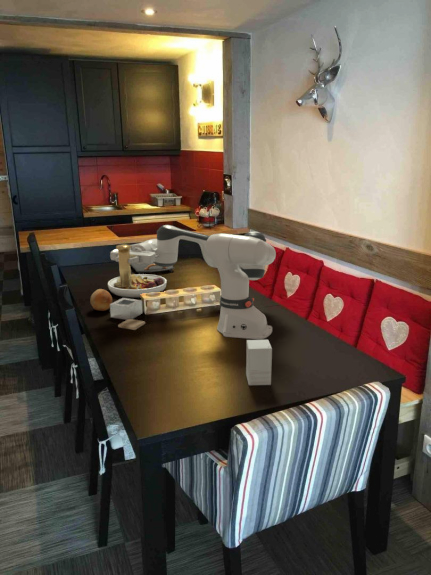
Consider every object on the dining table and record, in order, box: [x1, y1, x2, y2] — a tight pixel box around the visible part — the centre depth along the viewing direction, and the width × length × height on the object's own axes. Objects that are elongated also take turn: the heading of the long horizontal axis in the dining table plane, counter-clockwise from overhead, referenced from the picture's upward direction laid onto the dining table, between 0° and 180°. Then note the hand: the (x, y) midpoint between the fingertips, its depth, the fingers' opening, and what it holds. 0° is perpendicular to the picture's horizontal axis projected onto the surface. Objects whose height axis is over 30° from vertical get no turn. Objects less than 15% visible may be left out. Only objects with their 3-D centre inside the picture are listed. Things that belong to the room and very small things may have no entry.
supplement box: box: [245, 339, 273, 386], centre depth 153 cm, size 7×7×13 cm
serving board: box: [130, 262, 175, 274], centre depth 298 cm, size 39×23×6 cm, turn 21°
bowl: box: [107, 273, 168, 299], centre depth 250 cm, size 30×30×8 cm
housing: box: [109, 297, 143, 321], centre depth 214 cm, size 10×10×6 cm
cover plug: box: [115, 244, 132, 287], centre depth 202 cm, size 6×6×17 cm
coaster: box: [117, 318, 146, 331], centre depth 202 cm, size 8×8×1 cm
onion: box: [89, 288, 113, 312], centre depth 219 cm, size 10×10×10 cm
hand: (123, 260), depth 201 cm, fingers closed on cover plug, 5 cm apart
